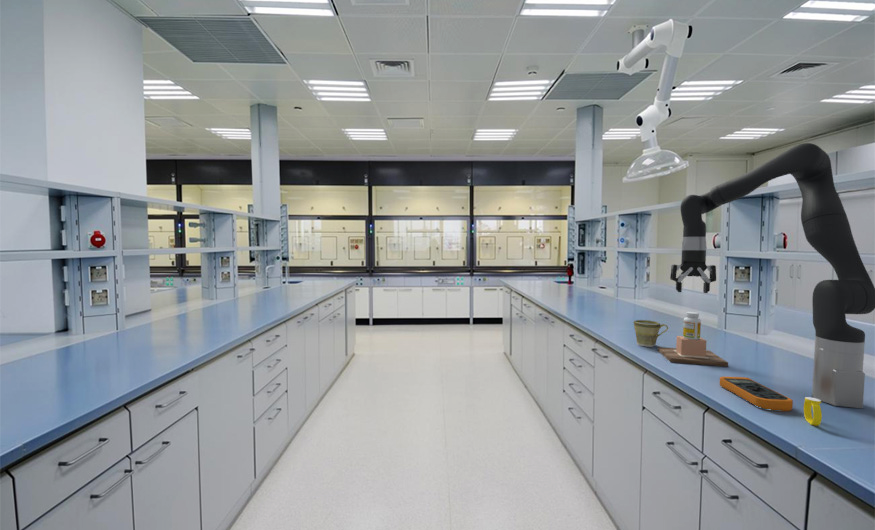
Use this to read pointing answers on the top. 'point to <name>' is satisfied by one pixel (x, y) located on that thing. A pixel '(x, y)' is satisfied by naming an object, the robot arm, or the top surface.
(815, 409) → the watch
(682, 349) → the terracotta block
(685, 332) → the supplement bottle
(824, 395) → the robot arm
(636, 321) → the ceramic cup
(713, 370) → the top surface
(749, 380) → the multimeter
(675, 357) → the walnut board
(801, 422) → the top surface
